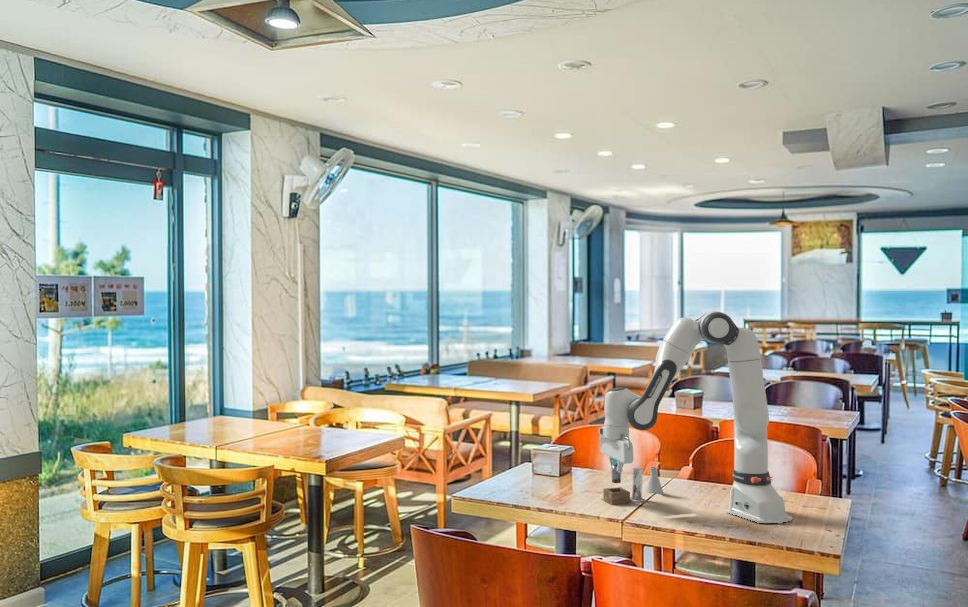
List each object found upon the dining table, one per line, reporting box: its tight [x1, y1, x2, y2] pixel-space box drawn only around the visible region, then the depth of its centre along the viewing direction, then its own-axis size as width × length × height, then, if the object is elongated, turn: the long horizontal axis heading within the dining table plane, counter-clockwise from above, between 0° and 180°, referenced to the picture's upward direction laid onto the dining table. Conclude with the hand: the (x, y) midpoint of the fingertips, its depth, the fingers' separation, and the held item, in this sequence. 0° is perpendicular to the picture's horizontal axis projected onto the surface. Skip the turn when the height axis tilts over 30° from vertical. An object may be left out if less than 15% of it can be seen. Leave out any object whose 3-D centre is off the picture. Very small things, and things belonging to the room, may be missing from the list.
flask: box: [644, 466, 665, 496], centre depth 286 cm, size 7×7×10 cm
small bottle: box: [611, 458, 622, 484], centre depth 272 cm, size 3×3×10 cm
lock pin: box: [631, 467, 643, 500], centre depth 274 cm, size 3×3×11 cm
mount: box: [601, 487, 650, 506], centre depth 273 cm, size 8×15×5 cm, turn 106°
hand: (616, 470), depth 272 cm, fingers closed on small bottle, 3 cm apart
